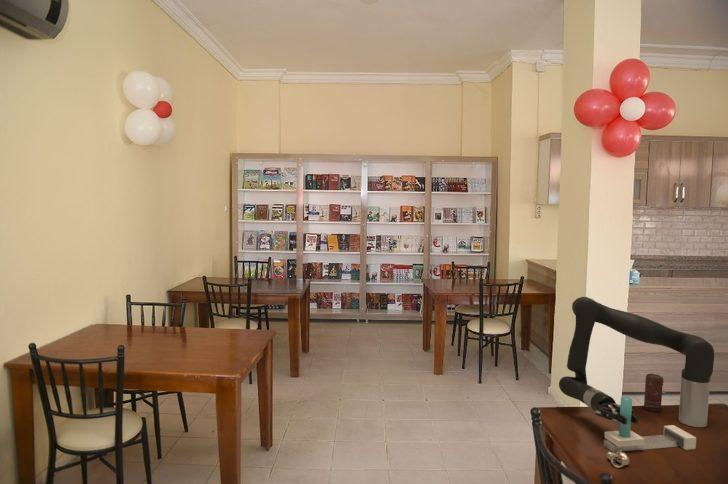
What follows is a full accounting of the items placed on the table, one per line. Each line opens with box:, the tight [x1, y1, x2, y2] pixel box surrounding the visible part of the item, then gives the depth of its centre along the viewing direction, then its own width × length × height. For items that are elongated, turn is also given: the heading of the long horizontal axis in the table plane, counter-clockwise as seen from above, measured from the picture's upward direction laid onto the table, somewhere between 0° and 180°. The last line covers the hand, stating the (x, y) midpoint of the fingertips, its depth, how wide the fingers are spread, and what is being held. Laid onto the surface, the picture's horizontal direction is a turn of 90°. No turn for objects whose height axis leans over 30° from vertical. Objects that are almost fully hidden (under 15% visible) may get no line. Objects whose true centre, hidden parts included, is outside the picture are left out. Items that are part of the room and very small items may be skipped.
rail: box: [603, 434, 679, 453], centre depth 178 cm, size 25×5×2 cm, turn 101°
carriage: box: [604, 396, 645, 447], centre depth 176 cm, size 10×7×15 cm
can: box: [643, 373, 664, 413], centre depth 210 cm, size 6×6×14 cm
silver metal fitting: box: [606, 450, 630, 469], centre depth 166 cm, size 8×7×4 cm
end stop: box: [662, 424, 697, 451], centre depth 181 cm, size 5×10×4 cm, turn 11°
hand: (631, 421), depth 173 cm, fingers closed on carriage, 3 cm apart
